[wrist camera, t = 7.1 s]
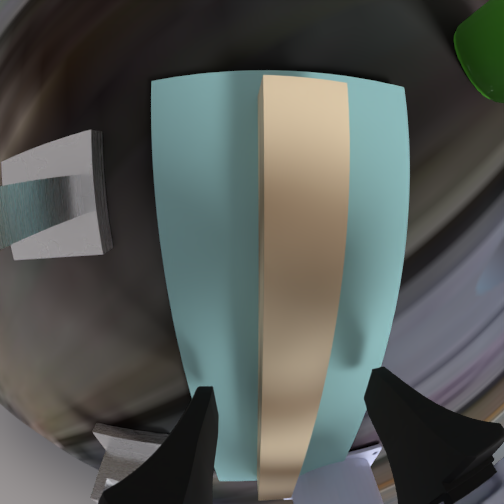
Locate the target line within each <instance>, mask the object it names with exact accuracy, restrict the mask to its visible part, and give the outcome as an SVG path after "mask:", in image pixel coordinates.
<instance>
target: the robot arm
mask: <svg viewBox="0 0 504 504" xmlns="http://www.w3.org/2000/svg"><path fill="white" fill-rule="evenodd" d="M364 401H365V405H366V408H367V411H368V414H369V417H370V419H371V421H372V423H373V425H374V427H375V429H376V432H377V434H378V436H379V438H380V440H381V442H382V444H383V446H384V448H385V451H386V453H387V456H388V459H389V463H390V466H391V470H392V473H393V478H394V482H395V486H396V492H397V497H398V504H504V457H503V458H502V459H501V460H500V461H498V462H497V463H496V464H495V465H494V466H493V464H492V462H493V461H494V458H493V456H492V455H493V453H495V451H496V450H497V449H498V448H499V447H500V446H501V445H502V444H503V442H504V428H503V427H502V425H501V424H500V423H492V422H485V421H480V420H476V419H472V418H469V417H466V416H463V415H460V414H458V413H455V412H453V411H450V410H448V409H446V408H444V407H442V406H440V405H438V404H436V403H434V402H433V401H431V400H429V399H428V398H426V397H425V396H423V395H422V394H420V393H419V392H417V391H416V390H414V389H413V388H411V387H410V386H409V385H407V384H406V383H405V382H403V381H402V380H401V379H399V378H398V377H397V376H396V375H394V374H393V373H392V372H390V371H389V370H388V369H386V368H385V367H379V368H375V369H372V372H371V375H370V379H369V382H368V385H367V389H366V392H365V395H364ZM218 423H219V414H218V409H217V404H216V399H215V394H214V389H213V386H199V387H197V389H196V391H195V393H194V395H193V398H192V400H191V401H190V403H189V405H188V407H187V409H186V410H185V412H184V414H183V415H182V417H181V419H180V420H179V422H178V423H177V425H176V426H175V428H174V429H173V430H172V432H171V433H170V434H169V436H168V437H167V438H166V440H165V441H164V442H163V443H162V444H161V446H160V447H159V448H158V449H157V450H156V451H155V452H154V453H153V454H152V455H151V456H150V457H149V458H148V459H147V460H146V461H145V462H144V463H143V464H142V465H141V466H140V467H138V468H137V469H136V470H135V471H133V472H132V473H131V474H129V475H128V476H127V477H125V478H124V479H123V480H121V481H120V482H118V483H116V484H115V485H113V486H111V487H110V488H108V489H106V490H105V491H103V493H102V495H101V497H100V499H99V501H98V504H213V503H212V482H213V470H214V463H215V455H216V448H217V440H218ZM381 449H382V446H381V445H380V444H377V445H374V446H370V447H367V448H363V449H359V450H355V451H351V452H348V454H347V456H346V458H345V460H344V461H342V462H337V463H333V464H329V465H326V466H322V467H320V468H317V469H314V470H311V471H309V472H307V473H305V474H303V475H301V476H299V477H298V480H297V483H296V486H295V488H294V491H293V494H292V497H291V498H284V500H289V499H293V504H384V503H383V500H382V497H381V495H380V492H379V489H378V486H377V484H376V481H375V478H374V476H373V473H372V470H371V468H370V466H371V465H372V463H373V462H374V460H375V458H376V457H377V455H378V454H379V452H380V451H381Z"/></svg>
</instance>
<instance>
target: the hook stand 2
mask: <svg viewBox="0 0 504 504" xmlns="http://www.w3.org/2000/svg"><path fill="white" fill-rule="evenodd" d="M92 432H93V434H94V435H95V436H96V438H97V439H98V440H99V442H100V443H101V444H102V446H103V447H104V448H105V449H106V452H105V455H104V458H103V461H102V464H101V467H100V469H99V472H98V475H97V478H96V482H95V485H94V488H93V491H92V494H91V497H90V498H91V499H93V500H94V501H95V502H96V503H98V501H99V499H100V497H101V495H102V493H103V491H105V490H106V489H108V488H110V487H111V486H113V485H115V484H116V483H118V482H120V481H121V480H123V479H124V478H125V477H127V476H128V475H129V474H131V473H132V472H133V471H135V470H136V469H137V468H138V467H140V466H141V465H142V464H143V463H144V462H145V461H146V460H147V459H148V458H149V457H150V456H151V455H152V454H153V453H154V452H155V451H156V450H157V449H158V448H159V447H160V446H161V444H162V443H163V442H164V441H165V440H166V438H167V437H168V436H169V434H163V433H154V432H146V431H139V430H133V429H126V428H121V427H115V426H110V425H106V424H101V423H97V422H96V425H95V427H94V429H93V431H92Z"/></svg>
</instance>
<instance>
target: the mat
mask: <svg viewBox="0 0 504 504" xmlns="http://www.w3.org/2000/svg"><path fill="white" fill-rule="evenodd" d="M263 75H279V76H295V77H306V78H316V79H324V80H332V81H338V82H345V83H347V87H348V103H349V131H350V175H349V203H348V221H347V235H346V247H345V257H344V267H343V276H342V284H341V292H340V300H339V307H338V314H337V320H336V326H335V332H334V338H333V344H332V349H331V355H330V360H329V365H328V370H327V374H326V379H325V384H324V388H323V392H322V397H321V401H320V405H319V409H318V413H317V417H316V421H315V424H314V428H313V432H312V435H311V439H310V442H309V446H308V449H307V452H306V456H305V459H304V462H303V465H302V468H301V471H300V474H299V476H301V475H303V474H305V473H307V472H309V471H311V470H314V469H317V468H320V467H322V466H326V465H329V464H333V463H337V462H342V461H344V460H345V458H346V456H347V454H348V452H349V450H350V448H351V445H352V443H353V441H354V439H355V436H356V434H357V432H358V429H359V427H360V425H361V422H362V420H363V417H364V414H365V412H366V409H367V408H366V405H365V401H364V395H365V392H366V389H367V385H368V382H369V379H370V375H371V372H372V369H375V368H379V367H381V364H382V361H383V357H384V354H385V350H386V347H387V343H388V339H389V335H390V331H391V326H392V322H393V318H394V313H395V308H396V303H397V298H398V293H399V287H400V281H401V275H402V268H403V261H404V253H405V244H406V235H407V223H408V208H409V181H410V160H409V133H408V119H407V108H406V99H405V90H404V87H400V86H396V85H392V84H387V83H383V82H378V81H373V80H367V79H362V78H356V77H349V76H342V75H334V74H325V73H315V72H302V71H279V70H249V71H226V72H213V73H202V74H194V75H186V76H178V77H172V78H166V79H160V80H155V81H151V133H152V158H153V175H154V188H155V200H156V210H157V220H158V229H159V237H160V245H161V252H162V259H163V266H164V272H165V279H166V285H167V291H168V296H169V302H170V307H171V312H172V317H173V322H174V327H175V332H176V337H177V341H178V346H179V350H180V354H181V359H182V363H183V367H184V371H185V375H186V379H187V382H188V386H189V390H190V394H191V397H192V398H193V395H194V393H195V391H196V389H197V387H199V386H213V389H214V394H215V399H216V404H217V409H218V414H219V423H218V440H217V448H216V455H215V463H214V468H215V471H216V474H217V476H218V479H219V481H255V480H257V436H258V296H259V229H258V93H259V89H260V85H261V81H262V77H263Z"/></svg>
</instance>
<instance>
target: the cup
mask: <svg viewBox="0 0 504 504" xmlns="http://www.w3.org/2000/svg"><path fill="white" fill-rule="evenodd" d="M454 46H455V50H456V53H457V57H458V59H459V61H460V63H461V66H462V68H463V69H464V71H465V73H466V75H467V76H468V78H469V79H470V81H471V82H472V84H473V85H474V86H475V87H476V89H477V90H478V91H479V92H480V93H481V94H482V95H484V96H485V97H487V98H489V99H492V100H493V101H495V102H500V103H504V0H489V1H488V2H487V3H486V4H484V5H483V6H482V7H481V8H479V9H478V10H477V11H476V12H474V13H473V14H472V15H471V16H469V17H468V18H467V19H466V20H465V21H463V22H462V23H461V24H460V25H459V26H458V27H457V29H456V32H455V34H454Z"/></svg>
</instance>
